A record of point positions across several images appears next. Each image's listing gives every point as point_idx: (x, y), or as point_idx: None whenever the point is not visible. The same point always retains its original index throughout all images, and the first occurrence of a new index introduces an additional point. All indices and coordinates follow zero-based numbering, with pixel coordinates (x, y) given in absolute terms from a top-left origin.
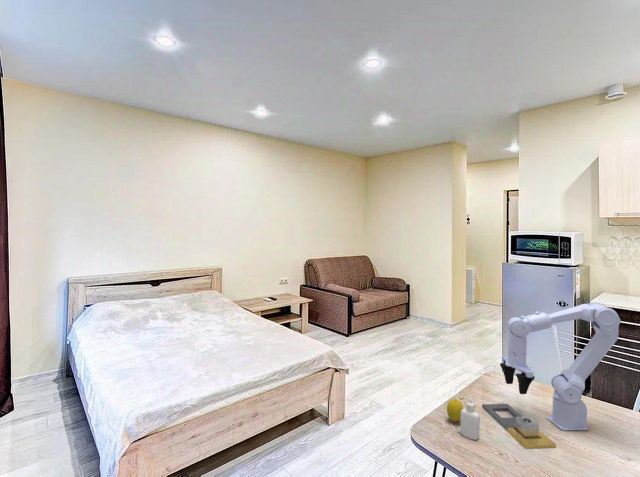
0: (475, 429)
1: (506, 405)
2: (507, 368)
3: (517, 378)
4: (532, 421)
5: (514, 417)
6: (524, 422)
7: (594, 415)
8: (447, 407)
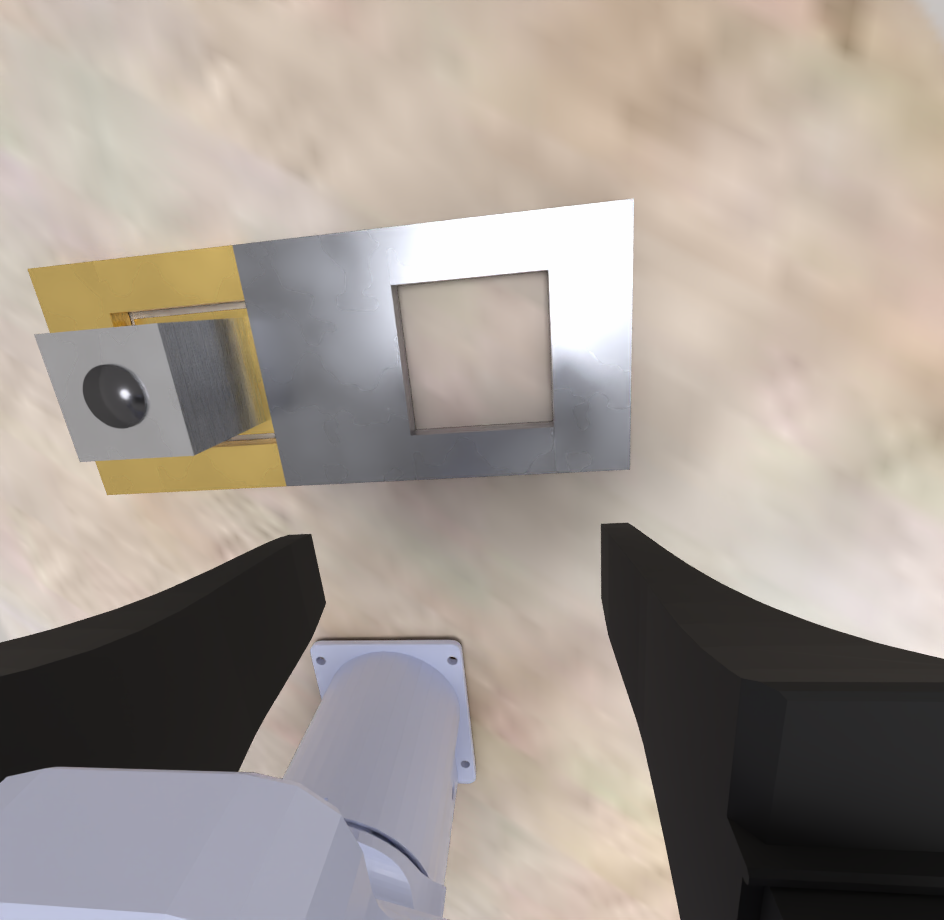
0: None
1: (602, 446)
2: (698, 750)
3: (99, 642)
4: (112, 434)
5: (405, 405)
6: (73, 348)
7: (503, 892)
8: None
